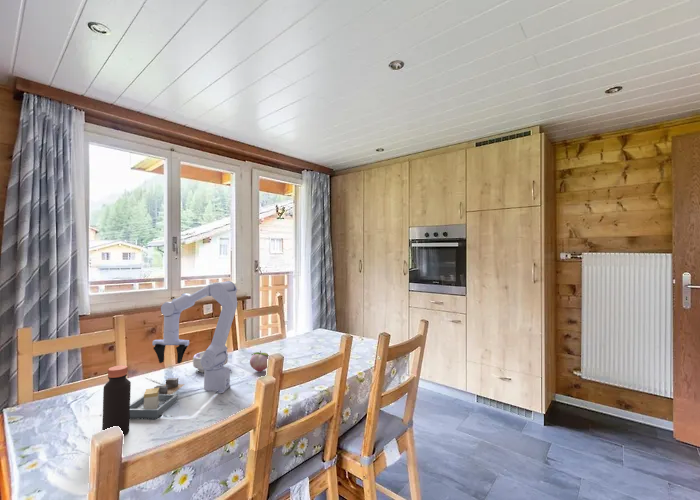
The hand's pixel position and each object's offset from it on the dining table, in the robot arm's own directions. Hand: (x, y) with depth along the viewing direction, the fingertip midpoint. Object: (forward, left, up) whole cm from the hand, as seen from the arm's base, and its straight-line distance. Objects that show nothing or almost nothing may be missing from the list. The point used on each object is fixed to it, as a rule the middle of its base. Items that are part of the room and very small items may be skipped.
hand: (170, 362), depth 139 cm
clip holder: (-3, +8, -9) cm, 13 cm away
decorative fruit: (-33, -18, -10) cm, 39 cm away
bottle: (-5, +39, -10) cm, 40 cm away
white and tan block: (-6, +23, -9) cm, 25 cm away
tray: (-6, +23, -9) cm, 26 cm away
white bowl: (-9, -19, -10) cm, 23 cm away
